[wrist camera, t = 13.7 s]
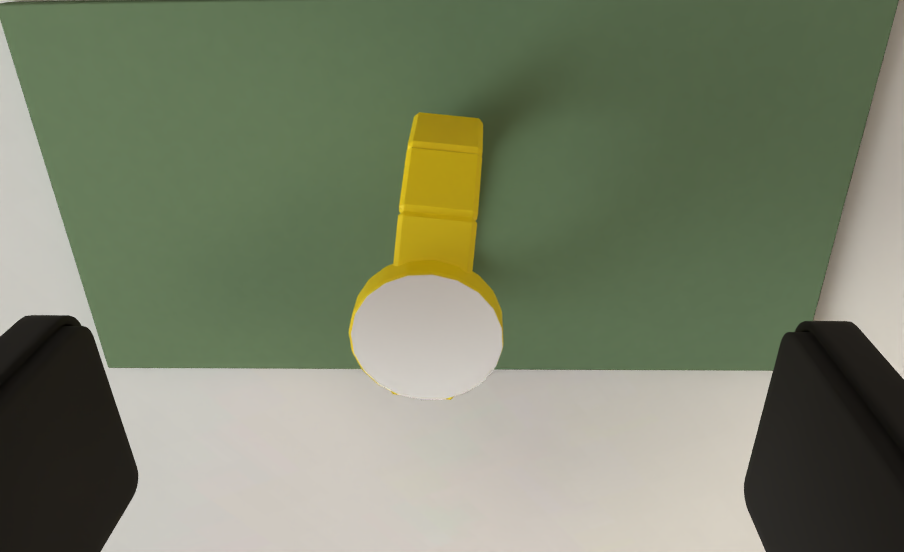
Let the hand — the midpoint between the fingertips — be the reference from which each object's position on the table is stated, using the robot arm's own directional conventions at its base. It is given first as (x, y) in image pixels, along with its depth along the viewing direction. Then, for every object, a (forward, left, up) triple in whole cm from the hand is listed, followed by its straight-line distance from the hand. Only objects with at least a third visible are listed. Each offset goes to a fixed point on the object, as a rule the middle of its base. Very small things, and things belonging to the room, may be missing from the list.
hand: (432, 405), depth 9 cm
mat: (0, +1, -9) cm, 9 cm away
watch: (0, 0, -9) cm, 9 cm away
